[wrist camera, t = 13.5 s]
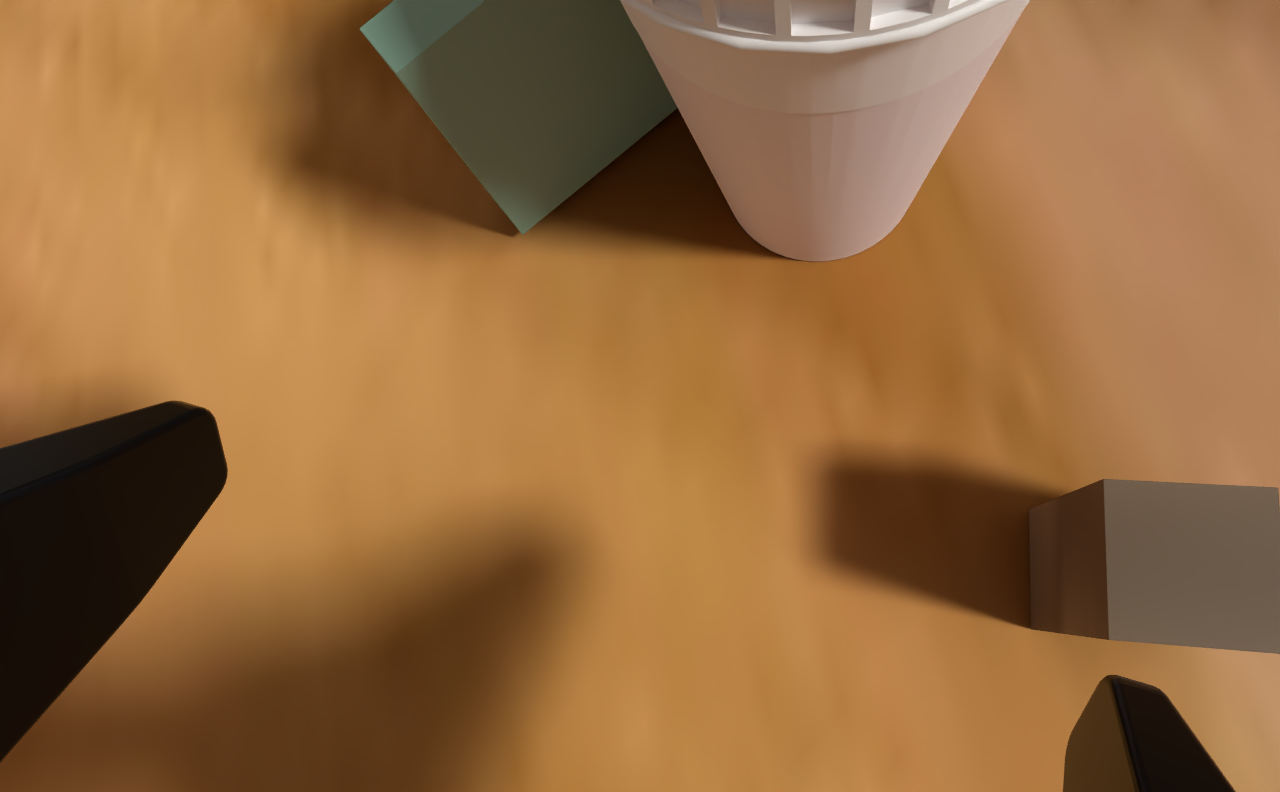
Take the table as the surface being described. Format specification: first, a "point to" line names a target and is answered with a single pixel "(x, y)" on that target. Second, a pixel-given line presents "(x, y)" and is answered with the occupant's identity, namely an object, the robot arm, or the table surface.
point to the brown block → (1159, 564)
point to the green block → (526, 89)
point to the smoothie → (822, 104)
